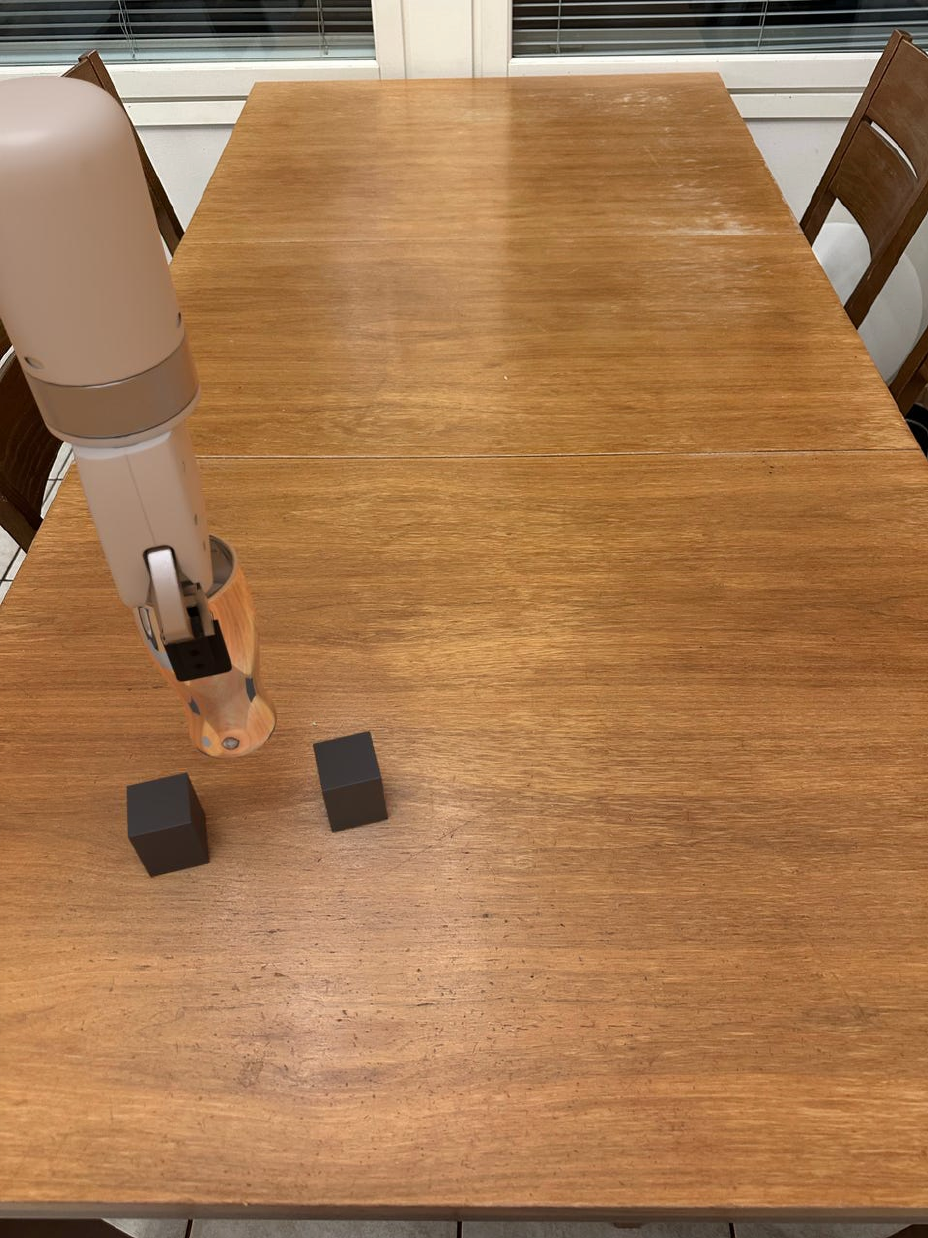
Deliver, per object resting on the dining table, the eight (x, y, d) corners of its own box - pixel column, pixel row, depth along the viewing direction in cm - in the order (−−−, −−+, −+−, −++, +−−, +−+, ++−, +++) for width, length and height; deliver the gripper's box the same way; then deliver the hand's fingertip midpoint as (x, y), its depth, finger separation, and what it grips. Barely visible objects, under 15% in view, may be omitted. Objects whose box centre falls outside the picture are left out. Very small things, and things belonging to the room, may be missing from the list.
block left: (149, 877, 72) (127, 837, 67) (147, 827, 75) (126, 785, 70) (209, 863, 72) (191, 822, 68) (205, 813, 75) (187, 771, 71)
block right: (331, 833, 74) (321, 791, 70) (322, 786, 77) (312, 743, 73) (388, 819, 75) (381, 777, 70) (376, 773, 78) (370, 730, 73)
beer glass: (253, 778, 62) (201, 625, 51) (163, 748, 64) (94, 595, 53) (301, 699, 67) (263, 543, 56) (216, 674, 69) (162, 517, 58)
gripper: (39, 299, 50) (133, 546, 63) (24, 505, 39) (143, 753, 52) (182, 278, 51) (246, 524, 64) (209, 471, 40) (279, 723, 53)
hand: (199, 625), depth 58 cm, fingers closed on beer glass, 7 cm apart
